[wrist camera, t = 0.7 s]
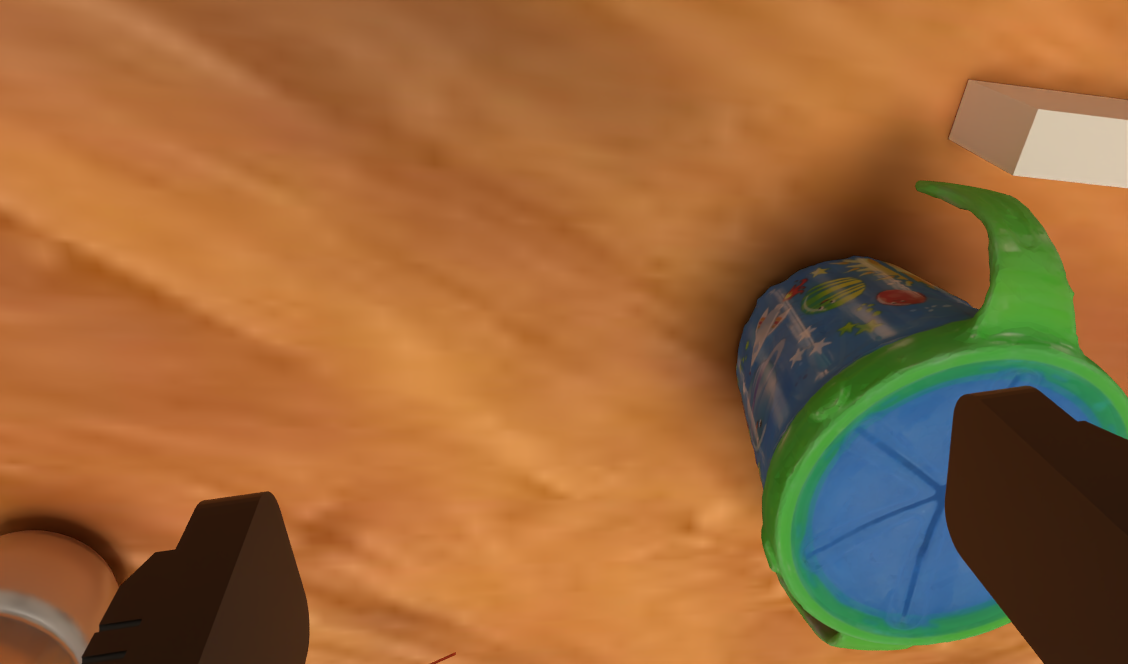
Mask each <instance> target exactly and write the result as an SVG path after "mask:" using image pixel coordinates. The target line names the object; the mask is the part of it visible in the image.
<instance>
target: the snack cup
mask: <svg viewBox="0 0 1128 664" xmlns="http://www.w3.org/2000/svg"><path fill="white" fill-rule="evenodd" d="M915 187H916V190H917V191H919V192H922V193H925V194H928V195H930V196H933V197H935V198H940V199H942V200H944V201H946V202H948V203H950V204H952V205H954V206H956V207H958V208H960V209H964V210H969V211H971V212H972V213H973V214H974V215H975V216H976V217H977V218H978V219H980V220H981V221H982V223H983V224H984V226H985V227H986V230H987V232H988V237H989V246H988V250H989V266H990V287H989V289H988V292H987V294H986V297H985V301H984V304H983V305H982V307H981V308H980V309H976V308H973V307H971V306H970V305H969V304H968V303H967V302H966V301H964V300H962V299H960V298H958V297H956V296H954V295H952V294H950V293H948V292H946V291H945V290H943V289H941V288H939V287H937V286H935V285H933V284H931V283H929V282H927V281H925V280H923V279H922V278H920V277H918V276H916V275H914V274H912V273H910V272H908V271H907V270H905V269H903V268H901V267H899V266H896V265H894V264H891V263H888V262H885V261H880V260H876V259H872V258H870V257H861V256H852V257H849V258H846V259H840V260H831V261H826V262H822V263H819V264H816V265H814V266H809V267H807V268H805V269H801V270H799V271H797V272H796V273H795V274H793V275H792V276H790V277H789V278H788V279H787V280H786V281H784V282H782V283H780V284H777V285H774V286H771V287H770V288H769V289H768V290H767V291H766V292H765V293H764V294H763V295H762V296H761V297H760V298H759V299H757V305H756V307H755V309H754V311H753V313H752V315H751V317H750V320H749V321H748V322H747V324H746V325H745V326H744V329H743V333H742V337H741V340H740V343H739V348H738V360H737V365H736V375H737V381H738V387H739V390H740V392H741V396H742V404H743V409H744V413H745V417H746V421H747V425H748V429H749V434H750V439H751V443H752V445H753V448H754V452H755V458H756V463H757V466H758V468H759V474H760V478H761V482H762V485H763V495H762V518H763V525H762V530H761V538H762V544H763V548H764V551H765V555H766V558H767V560H768V563H769V567H770V568H771V570H772V571H774V572H776V574H777V576H778V579H779V581H780V584H781V585H782V587H783V588H784V590H785V591H786V593H787V595H788V596H789V598H790V599H791V601H792V603H793V604H794V605H795V607H796V608H797V609H798V611H799V612H800V614H801V615H802V616H803V618H804V619H805V621H806V622H807V623H808V624H809V626H810V627H811V628H812V630H813V631H814V632H815V634H816V635H817V636H818V637H819V638H820V639H822V640H823V641H824V642H826V643H827V644H829V645H830V646H835V647H840V648H848V649H857V650H900V649H907V648H909V647H911V646H913V645H930V644H936V643H943V642H951V641H956V640H961V639H965V638H969V637H973V636H976V635H980V634H983V633H986V632H989V631H991V630H994V629H996V628H999V627H1001V626H1003V625H1006V624H1008V623H1010V622H1011V621H1010V619H1009V618H1008V617H1007V615H1006V614H1005V613H1004V612H1003V610H1002V609H1001V608H1000V607H999V605H998V604H997V603H996V601H995V600H994V599H993V598H992V596H991V595H990V594H989V592H988V591H987V590H986V589H985V587H984V586H983V585H982V583H981V582H980V581H979V580H978V578H977V577H976V576H975V575H974V573H973V572H972V571H971V569H970V568H969V567H968V566H967V564H966V563H965V562H964V560H963V559H962V558H961V556H960V555H959V553H958V552H957V550H956V548H955V546H954V544H953V542H952V539H951V537H950V534H949V531H948V527H947V523H946V517H945V493H946V483H947V473H948V462H949V452H950V442H951V432H952V422H953V413H954V408H955V405H956V403H957V401H958V399H959V398H960V397H961V396H963V395H965V394H970V393H977V392H984V391H991V390H998V389H1005V388H1012V387H1019V386H1032V387H1034V388H1036V389H1038V390H1039V391H1041V392H1042V393H1043V394H1044V395H1046V396H1047V397H1048V398H1049V399H1050V400H1052V401H1053V402H1054V403H1055V404H1057V405H1058V406H1059V407H1060V408H1062V409H1063V410H1064V411H1065V412H1067V413H1068V414H1069V415H1070V416H1071V417H1073V418H1074V419H1075V420H1076V421H1087V422H1089V423H1091V424H1093V425H1096V426H1098V427H1100V428H1102V429H1105V430H1107V431H1109V432H1111V433H1114V434H1116V435H1118V436H1120V437H1123V438H1125V439H1127V440H1128V397H1127V396H1126V395H1125V393H1124V392H1123V391H1122V389H1121V388H1120V387H1119V386H1118V385H1117V384H1116V383H1115V382H1114V381H1113V380H1112V378H1111V377H1110V376H1109V375H1108V374H1107V373H1105V372H1104V371H1103V370H1102V369H1101V368H1100V367H1099V366H1098V365H1097V364H1095V363H1094V362H1093V361H1092V360H1090V359H1089V358H1088V357H1086V356H1085V355H1084V354H1083V352H1082V350H1081V349H1080V348H1079V344H1078V337H1077V335H1076V324H1075V312H1074V306H1073V296H1074V292H1073V291H1072V289H1071V288H1070V286H1069V284H1068V281H1067V279H1066V273H1065V270H1064V267H1063V264H1062V261H1061V259H1060V256H1059V254H1058V252H1057V250H1056V248H1055V246H1054V245H1053V243H1052V242H1051V240H1050V238H1049V237H1048V235H1047V233H1046V231H1045V229H1044V228H1043V226H1042V225H1041V224H1040V222H1039V221H1038V220H1037V219H1036V217H1035V216H1034V215H1033V214H1032V213H1031V212H1030V210H1029V209H1028V208H1027V207H1026V206H1024V205H1023V204H1022V203H1021V202H1020V201H1018V200H1017V199H1016V198H1014V197H1012V196H1010V195H1006V194H1002V193H998V192H995V191H991V190H987V189H982V188H976V187H971V186H965V185H959V184H952V183H944V182H934V181H918V182H916V185H915Z"/></svg>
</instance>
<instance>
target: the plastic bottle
mask: <svg viewBox="0 0 1128 664" xmlns="http://www.w3.org/2000/svg"><path fill="white" fill-rule="evenodd" d="M118 588H119V587H118V584H117V582H116V579H115V577H114V575H113V573H112V570H111V568H110V567H109V566H108V564H107V563H106V562H105V560H104V559H103V558H102V557H101V556H100V555H99V554H98V553H97V552H96V551H95V550H93V549H92V548H90V547H89V546H87V545H86V544H84V543H82V542H80V541H78V540H76V539H74V538H72V537H69V536H66V535H63V534H59V533H56V532H49V531H43V530H25V531H18V532H12V533H9V534H5V535H1V536H0V664H82V655H83V653H84V651H85V650H86V648H87V646H88V644H89V642H90V640H91V638H92V637H93V635H94V633H96V632H99V624H100V622H101V620H102V618H103V616H104V614H105V612H106V611H107V609H108V607H109V605H110V603H111V601H112V599H113V597H114V596H115V594H116V592H117V590H118Z"/></svg>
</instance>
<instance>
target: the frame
mask: <svg viewBox="0 0 1128 664" xmlns="http://www.w3.org/2000/svg"><path fill="white" fill-rule="evenodd" d="M949 140H951V141H953V142H955V143H956V144H958V145H960V146H962V147H963V148H965V149H967V150H969V151H971V152H972V153H974V154H976V155H978V156H979V157H981V158H983V159H985V160H987V161H988V162H990V163H992V164H994V165H995V166H997V167H999V168H1001V169H1002V170H1004V171H1006V172H1008V173H1010V174H1011V175H1014V176H1023V177H1032V178H1041V179H1050V180H1059V181H1068V182H1077V183H1086V184H1095V185H1104V186H1113V187H1122V188H1128V100H1125V99H1117V98H1109V97H1101V96H1093V95H1085V94H1078V93H1070V92H1062V91H1054V90H1046V89H1039V88H1031V87H1023V86H1015V85H1007V84H1000V83H992V82H984V81H976V80H968V83H967V86H966V89H965V92H964V95H963V98H962V100H961V103H960V106H959V109H958V112H957V115H956V118H955V121H954V124H953V127H952V130H951V133H950V136H949Z"/></svg>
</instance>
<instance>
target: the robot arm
mask: <svg viewBox="0 0 1128 664" xmlns="http://www.w3.org/2000/svg"><path fill="white" fill-rule="evenodd" d="M945 517H946V523H947V527H948V531H949V534H950V537H951V539H952V542H953V544H954V546H955V548H956V550H957V552H958V553H959V555H960V556H961V558H962V559H963V560H964V562H965V563H966V564H967V566H968V567H969V568H970V569H971V571H972V572H973V573H974V575H975V576H976V577H977V578H978V580H979V581H980V582H981V583H982V585H983V586H984V587H985V589H986V590H987V591H988V592H989V594H990V595H991V596H992V598H993V599H994V600H995V601H996V603H997V604H998V605H999V607H1000V608H1001V609H1002V610H1003V612H1004V613H1005V614H1006V615H1007V617H1008V618H1009V619H1010V621H1011V622H1012V623H1013V624H1014V626H1015V627H1016V628H1017V630H1018V631H1019V632H1020V633H1021V635H1022V636H1023V637H1024V639H1025V640H1026V641H1027V642H1028V644H1029V645H1030V646H1031V648H1032V649H1033V650H1034V651H1035V653H1036V654H1037V655H1038V656H1039V658H1040V659H1041V660H1042V662H1043V663H1044V664H1128V440H1127V439H1125V438H1123V437H1120V436H1118V435H1116V434H1114V433H1111V432H1109V431H1107V430H1105V429H1102V428H1100V427H1098V426H1096V425H1093V424H1091V423H1089V422H1087V421H1076V420H1075V419H1074V418H1073V417H1071V416H1070V415H1069V414H1068V413H1067V412H1065V411H1064V410H1063V409H1062V408H1060V407H1059V406H1058V405H1057V404H1055V403H1054V402H1053V401H1052V400H1050V399H1049V398H1048V397H1047V396H1046V395H1044V394H1043V393H1042V392H1041V391H1039V390H1038V389H1036V388H1034V387H1032V386H1019V387H1012V388H1005V389H998V390H991V391H984V392H977V393H970V394H965V395H963V396H961V397H960V398H959V399H958V401H957V403H956V405H955V408H954V413H953V422H952V432H951V442H950V452H949V462H948V473H947V483H946V493H945ZM308 646H309V612H308V605H307V600H306V595H305V592H304V588H303V585H302V581H301V578H300V575H299V571H298V568H297V565H296V561H295V558H294V555H293V551H292V548H291V545H290V541H289V538H288V534H287V531H286V528H285V524H284V521H283V518H282V514H281V511H280V508H279V505H278V503H277V500H276V499H275V497H274V495H273V494H272V493H270V492H260V493H253V494H246V495H239V496H232V497H225V498H218V499H211V500H204V501H201V502H200V503H199V504H198V505H197V506H196V508H195V510H194V512H193V514H192V516H191V518H190V520H189V522H188V525H187V527H186V529H185V531H184V533H183V535H182V537H181V539H180V541H179V543H178V545H177V547H176V549H175V550H169V551H162V552H155V553H154V554H153V555H152V556H151V557H150V558H149V559H148V560H147V561H146V562H145V563H144V564H143V565H142V566H141V567H140V568H139V569H137V570H136V571H135V572H134V573H133V574H132V575H131V576H130V577H129V578H128V579H127V580H126V581H125V582H124V583H123V584H122V585H121V586H120V587H119V588H118V590H117V592H116V594H115V596H114V597H113V599H112V601H111V603H110V605H109V607H108V609H107V611H106V612H105V614H104V616H103V618H102V620H101V622H100V624H99V632H96V633H94V635H93V637H92V638H91V640H90V642H89V644H88V646H87V648H86V650H85V651H84V653H83V655H82V664H305V661H306V657H307V652H308Z"/></svg>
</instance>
